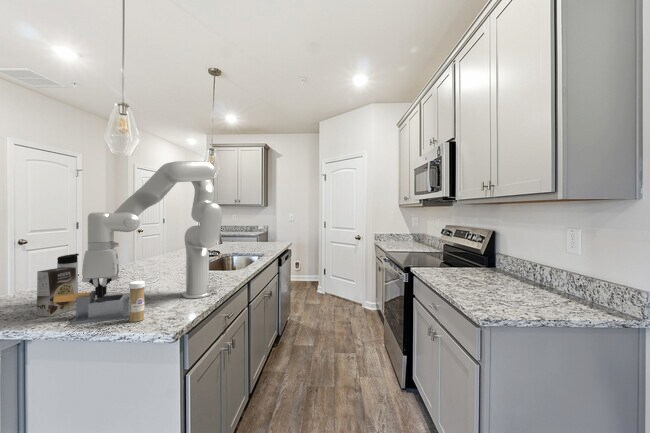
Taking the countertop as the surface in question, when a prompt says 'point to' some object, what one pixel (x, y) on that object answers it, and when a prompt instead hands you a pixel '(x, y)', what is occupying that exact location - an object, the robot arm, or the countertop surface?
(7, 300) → the countertop surface
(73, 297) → the lock bar
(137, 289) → the sprinkles bottle
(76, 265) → the travel mug
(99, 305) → the dock
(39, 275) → the coffee box
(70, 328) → the countertop surface
